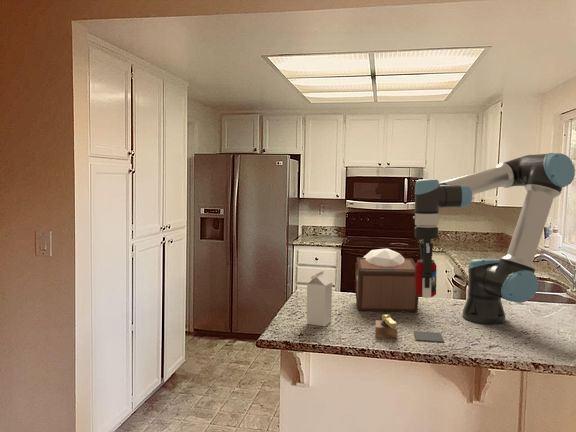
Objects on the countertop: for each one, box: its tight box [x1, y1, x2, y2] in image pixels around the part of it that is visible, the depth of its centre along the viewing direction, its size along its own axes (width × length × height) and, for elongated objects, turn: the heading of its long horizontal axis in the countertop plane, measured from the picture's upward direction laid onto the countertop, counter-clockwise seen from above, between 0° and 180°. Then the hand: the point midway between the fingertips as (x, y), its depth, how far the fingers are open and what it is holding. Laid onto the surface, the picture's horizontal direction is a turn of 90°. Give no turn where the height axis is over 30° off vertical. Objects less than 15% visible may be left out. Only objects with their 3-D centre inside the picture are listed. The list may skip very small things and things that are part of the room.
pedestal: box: [374, 319, 398, 340], centre depth 159 cm, size 7×8×4 cm
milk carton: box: [306, 270, 333, 327], centre depth 171 cm, size 7×7×19 cm
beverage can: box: [415, 258, 437, 299], centre depth 155 cm, size 7×7×12 cm
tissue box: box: [354, 248, 419, 313], centre depth 198 cm, size 24×28×24 cm
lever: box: [381, 313, 397, 328], centre depth 155 cm, size 9×3×2 cm, turn 5°
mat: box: [413, 330, 445, 344], centre depth 156 cm, size 9×9×1 cm
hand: (425, 294), depth 156 cm, fingers closed on beverage can, 7 cm apart
